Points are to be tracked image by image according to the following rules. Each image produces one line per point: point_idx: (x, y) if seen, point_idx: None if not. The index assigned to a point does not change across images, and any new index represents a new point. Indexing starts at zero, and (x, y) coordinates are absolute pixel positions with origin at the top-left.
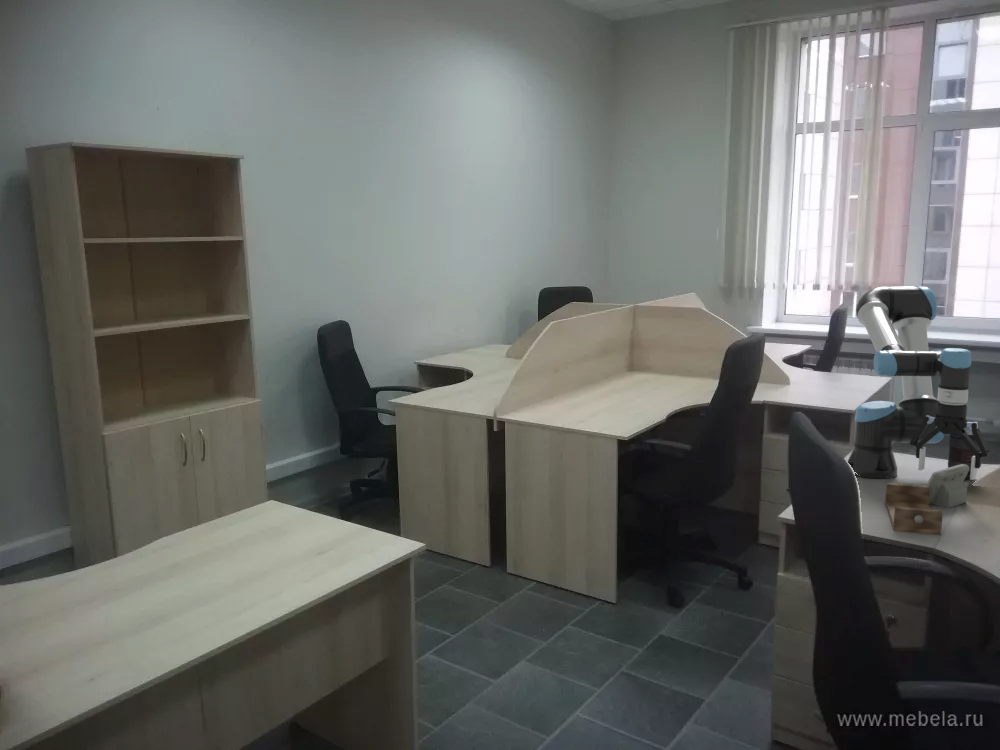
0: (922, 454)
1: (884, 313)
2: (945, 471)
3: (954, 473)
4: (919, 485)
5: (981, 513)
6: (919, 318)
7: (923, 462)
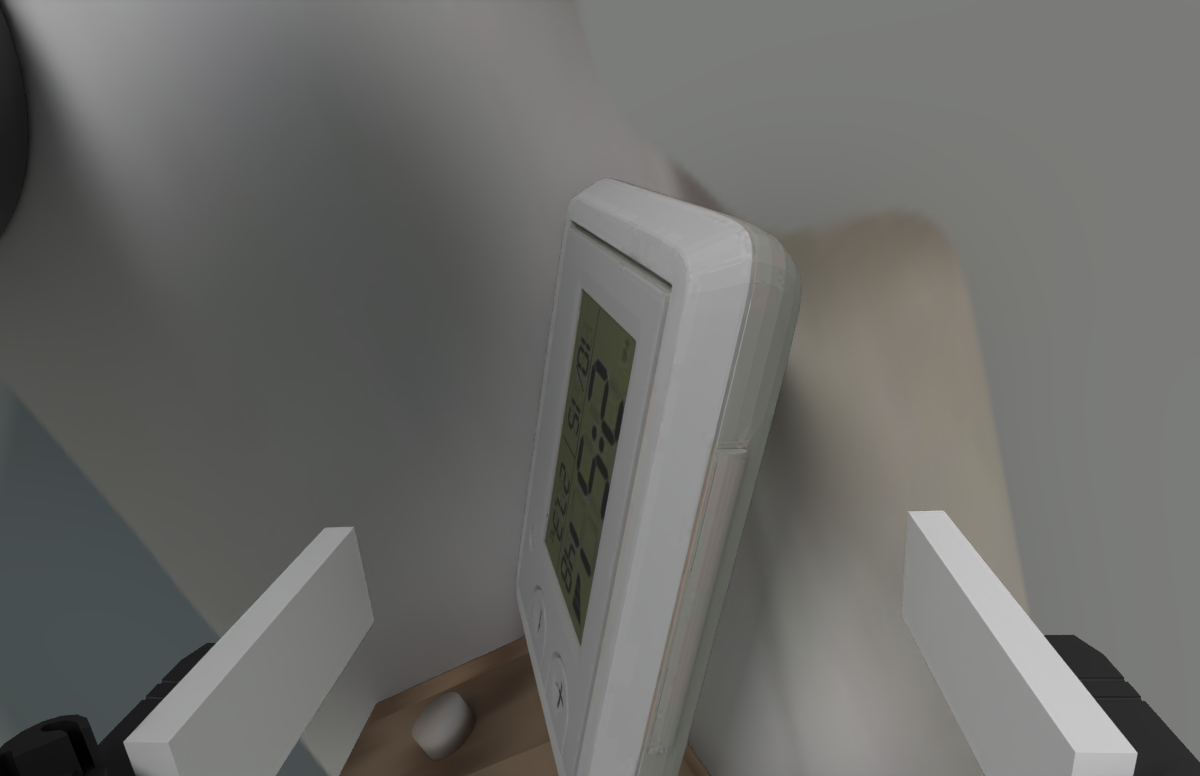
0: (265, 774)
1: None
2: (661, 750)
3: (719, 608)
4: (511, 761)
5: (933, 493)
6: None
7: (321, 617)
